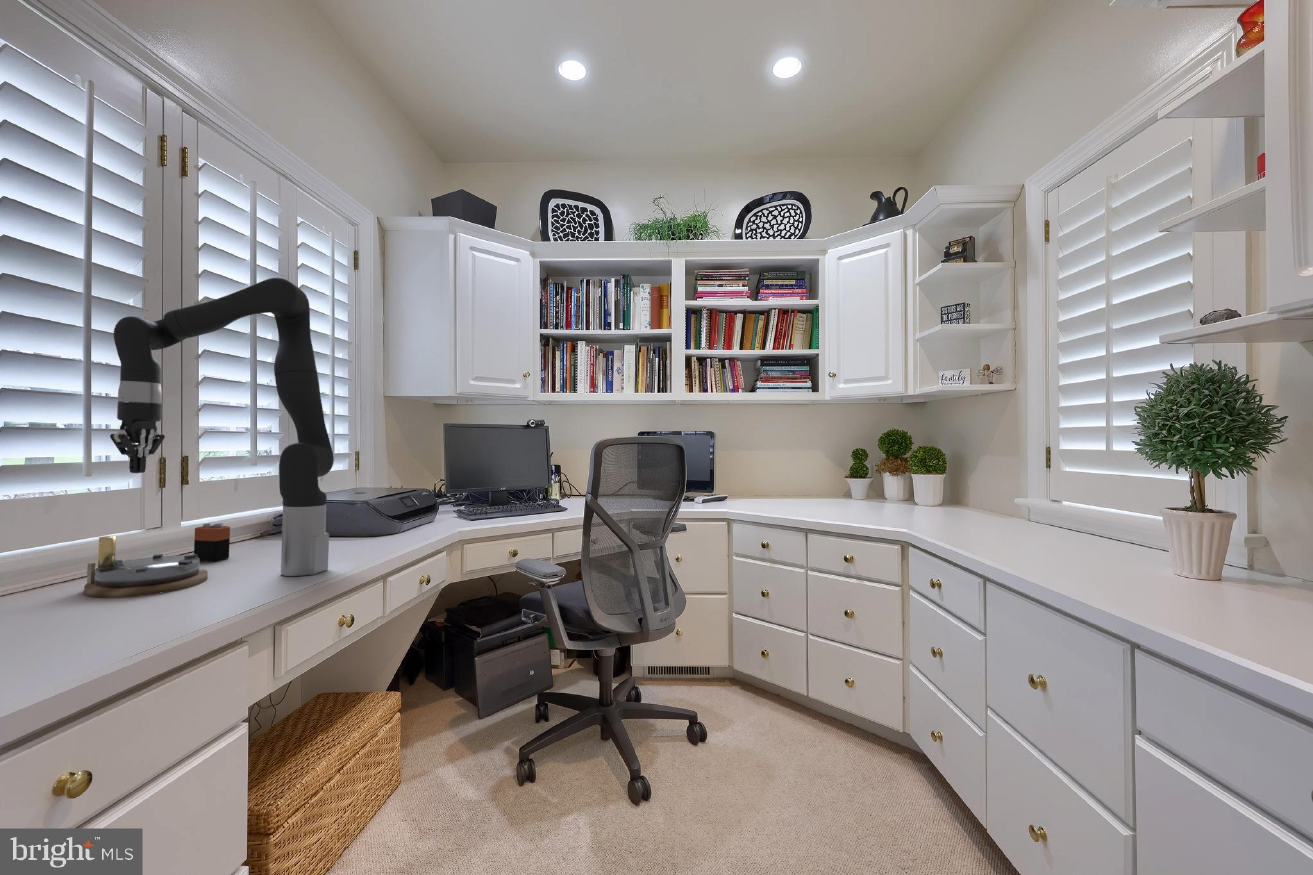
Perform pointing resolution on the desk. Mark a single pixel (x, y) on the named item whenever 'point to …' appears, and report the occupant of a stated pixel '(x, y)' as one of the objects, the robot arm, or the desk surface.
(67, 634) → the desk surface
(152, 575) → the studded grey disc
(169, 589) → the base plate
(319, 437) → the robot arm
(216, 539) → the battery
